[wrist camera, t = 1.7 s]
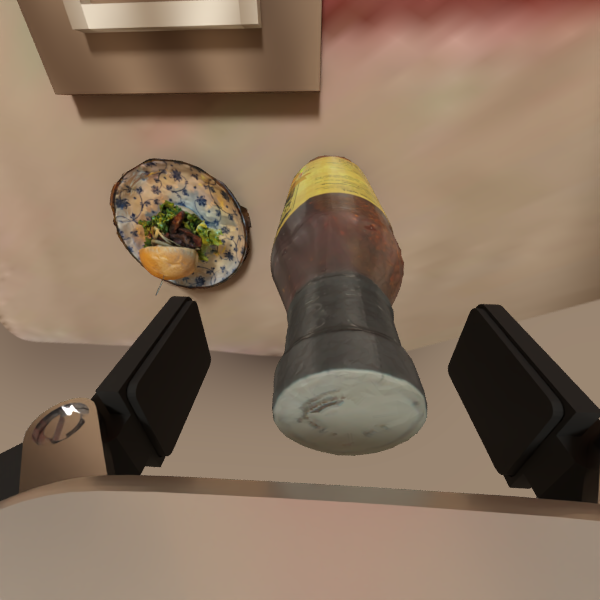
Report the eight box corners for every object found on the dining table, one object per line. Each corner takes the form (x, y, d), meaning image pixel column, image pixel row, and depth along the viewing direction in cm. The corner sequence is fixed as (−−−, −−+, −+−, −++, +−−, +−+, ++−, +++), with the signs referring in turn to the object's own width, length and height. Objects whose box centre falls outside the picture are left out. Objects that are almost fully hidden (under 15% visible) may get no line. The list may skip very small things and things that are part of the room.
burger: (269, 191, 24) (250, 222, 17) (234, 296, 30) (211, 345, 24) (123, 127, 22) (44, 135, 15) (119, 254, 28) (62, 295, 22)
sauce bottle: (282, 163, 22) (164, 327, 6) (363, 143, 21) (506, 277, 5) (301, 240, 26) (261, 477, 9) (371, 227, 24) (466, 471, 8)
